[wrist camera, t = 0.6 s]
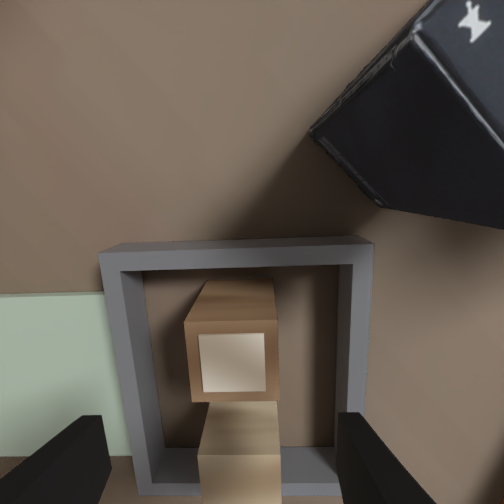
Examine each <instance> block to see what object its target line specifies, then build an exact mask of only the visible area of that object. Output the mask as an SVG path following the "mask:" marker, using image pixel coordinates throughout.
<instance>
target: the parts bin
mask: <svg viewBox="0 0 504 504" xmlns="http://www.w3.org/2000/svg"><path fill="white" fill-rule="evenodd" d="M98 257H99V263H100V269H101V275H102V281H103V287H104V293H105V299H106V305H107V311H108V317H109V323H110V329H111V335H112V340H113V346H114V352H115V358H116V364H117V370H118V376H119V382H120V388H121V394H122V400H123V406H124V412H125V418H126V424H127V430H128V436H129V442H130V448H131V454H132V460H133V466H134V472H135V478H136V484H137V490H138V495H139V496H202V495H201V486H200V476H199V466H198V457H197V454H198V450H199V448H165V444H164V436H163V429H162V421H161V414H160V406H159V399H158V392H157V384H156V377H155V369H154V362H153V354H152V347H151V339H150V332H149V324H148V317H147V310H146V302H145V295H144V287H143V280H142V272H141V270H174V269H206V268H239V267H271V266H304V265H336V264H339V292H338V325H337V359H336V392H335V426H334V447H280V456H281V496H342V494H341V489H340V484H339V479H338V474H337V470H336V455H337V425H338V412H359V413H360V414H361V415H362V416H363V417H364V415H365V397H366V380H367V363H368V345H369V328H370V311H371V293H372V276H373V259H374V243H372V242H370V241H368V240H366V239H364V238H362V237H360V236H358V235H353V236H324V237H295V238H266V239H237V240H208V241H180V242H151V243H122V244H119V245H116V246H114V247H111V248H109V249H107V250H104V251H102V252H99V253H98Z"/></svg>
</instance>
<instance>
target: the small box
mask: <svg viewBox="0 0 504 504" xmlns="http://www.w3.org/2000/svg"><path fill="white" fill-rule="evenodd" d="M310 137H312V138H313V139H314V141H315V142H316V143H318V144H319V145H320V146H322V147H323V148H324V149H325V150H326V153H327V154H329V155H331V156H332V158H333V159H334V160H335V161H336V162H337V163H338V164H339V166H341V167H342V168H343V169H344V170H345V171H346V172H347V174H348V175H349V177H351V178H352V179H353V180H354V181H355V182H356V183H357V184H358V186H359V189H360V190H362V191H363V192H364V193H365V194H366V195H367V196H368V197H369V198H370V199H371V200H373V201H374V202H375V203H376V204H377V205H378V206H379V207H381V208H388V209H393V210H399V211H405V212H411V213H416V214H422V215H427V216H433V217H439V218H443V219H450V220H455V221H460V222H465V223H471V224H477V225H481V226H487V227H492V228H497V229H504V0H429V1H428V2H427V3H426V4H425V5H424V6H423V7H422V8H421V9H420V11H419V12H418V13H417V14H416V15H415V16H414V17H413V18H412V19H410V20H409V22H408V23H407V24H406V25H405V26H404V27H403V28H402V29H401V30H400V31H399V32H398V33H397V35H396V36H395V37H394V38H393V39H392V40H391V41H390V42H389V43H388V44H387V45H386V46H385V47H384V48H383V49H382V50H381V51H380V53H379V54H378V55H377V56H376V57H375V58H374V59H373V60H372V61H371V62H370V63H369V64H368V65H367V66H366V67H364V69H363V70H362V71H361V72H360V74H359V75H358V76H357V77H356V79H355V80H353V81H352V82H351V83H349V84H348V86H347V87H346V89H345V90H344V91H343V93H342V94H341V95H340V96H339V97H338V98H337V99H336V100H335V101H334V103H333V104H332V105H331V106H330V107H329V108H328V109H327V110H326V111H325V112H324V113H323V115H322V116H321V117H320V118H319V119H318V120H317V121H316V122H315V123H314V124H313V125H312V126H311V127H310Z"/></svg>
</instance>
